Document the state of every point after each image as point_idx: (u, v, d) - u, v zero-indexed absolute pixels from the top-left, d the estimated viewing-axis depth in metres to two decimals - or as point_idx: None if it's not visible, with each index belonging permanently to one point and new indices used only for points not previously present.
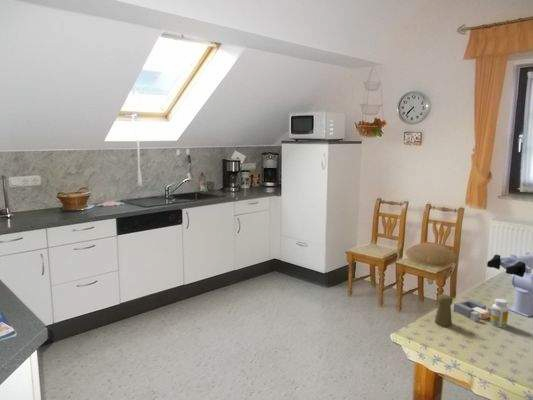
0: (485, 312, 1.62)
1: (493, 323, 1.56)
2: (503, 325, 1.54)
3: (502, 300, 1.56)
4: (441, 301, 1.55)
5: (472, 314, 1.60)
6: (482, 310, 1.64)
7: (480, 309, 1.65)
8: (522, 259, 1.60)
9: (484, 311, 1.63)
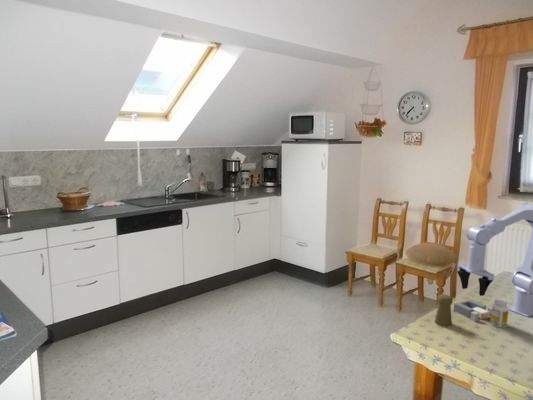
0: (485, 312, 1.62)
1: (493, 323, 1.56)
2: (503, 325, 1.54)
3: (502, 300, 1.56)
4: (441, 301, 1.55)
5: (472, 314, 1.60)
6: (482, 310, 1.64)
7: (480, 309, 1.65)
8: (475, 263, 1.57)
9: (484, 311, 1.63)
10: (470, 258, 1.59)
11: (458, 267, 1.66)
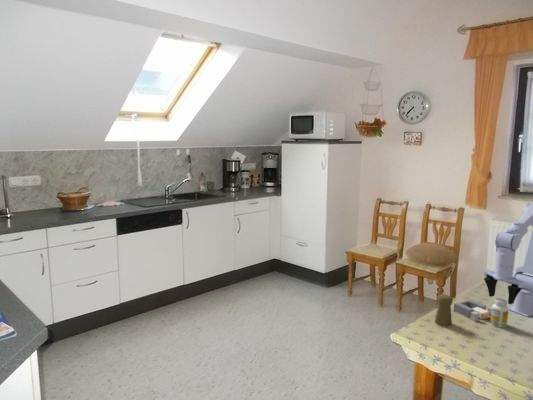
0: (485, 312, 1.62)
1: (493, 323, 1.56)
2: (503, 325, 1.54)
3: (502, 300, 1.56)
4: (441, 301, 1.55)
5: (472, 314, 1.60)
6: (482, 310, 1.64)
7: (480, 309, 1.65)
8: (504, 270, 1.51)
9: (484, 311, 1.63)
10: (498, 265, 1.52)
11: (484, 274, 1.60)
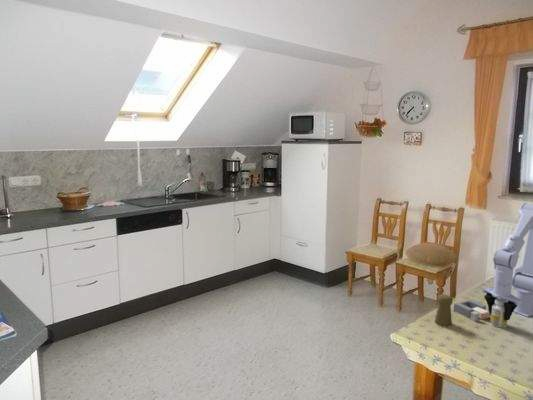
0: (485, 312, 1.62)
1: (493, 323, 1.56)
2: (503, 325, 1.54)
3: (502, 299, 1.56)
4: (441, 301, 1.55)
5: (472, 314, 1.60)
6: (482, 310, 1.64)
7: (480, 309, 1.65)
8: (502, 288, 1.52)
9: (484, 311, 1.63)
10: (497, 282, 1.54)
11: (483, 290, 1.61)
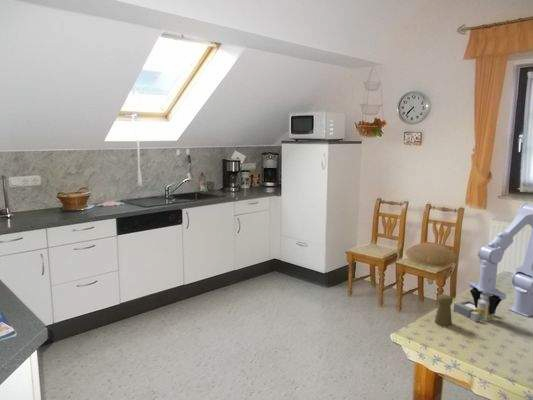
0: (476, 308, 1.65)
1: (479, 316, 1.61)
2: (488, 318, 1.60)
3: (487, 294, 1.61)
4: (441, 301, 1.55)
5: (472, 314, 1.60)
6: (474, 306, 1.67)
7: (472, 305, 1.68)
8: (487, 283, 1.58)
9: None
10: (482, 277, 1.59)
11: (469, 285, 1.66)
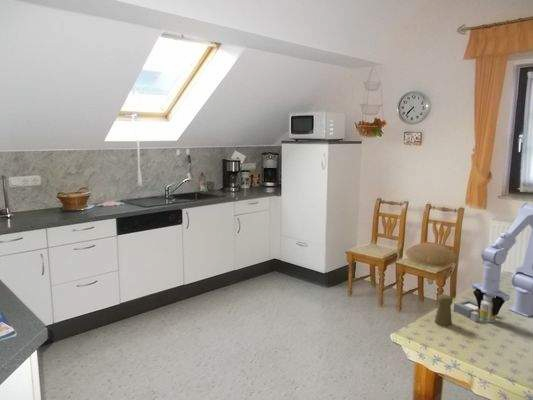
0: (476, 308, 1.65)
1: (482, 318, 1.60)
2: (491, 320, 1.58)
3: (490, 295, 1.60)
4: (441, 301, 1.55)
5: (472, 314, 1.60)
6: (473, 306, 1.67)
7: (472, 305, 1.68)
8: (490, 284, 1.56)
9: (475, 307, 1.66)
10: (485, 278, 1.58)
11: (472, 286, 1.65)
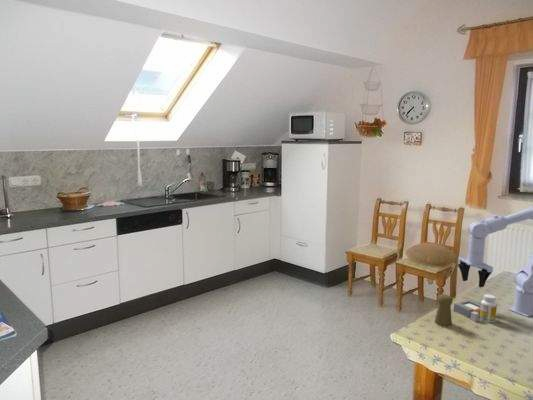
0: (476, 308, 1.65)
1: (482, 318, 1.60)
2: (491, 320, 1.58)
3: (490, 295, 1.60)
4: (441, 301, 1.55)
5: (472, 314, 1.60)
6: (473, 306, 1.67)
7: (472, 305, 1.68)
8: (475, 257, 1.66)
9: (475, 307, 1.66)
10: (470, 252, 1.67)
11: (458, 260, 1.75)
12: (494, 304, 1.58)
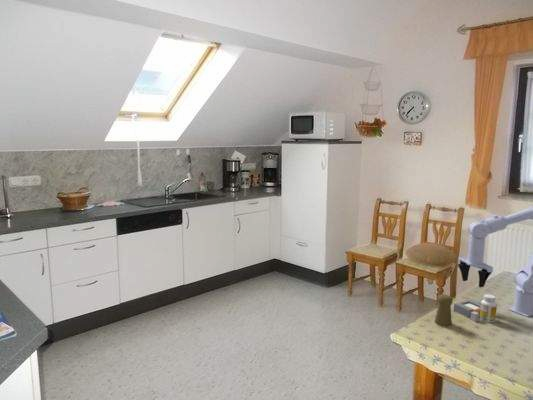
0: (476, 308, 1.65)
1: (482, 318, 1.60)
2: (491, 320, 1.58)
3: (490, 295, 1.60)
4: (441, 301, 1.55)
5: (472, 314, 1.60)
6: (473, 306, 1.67)
7: (472, 305, 1.68)
8: (475, 257, 1.66)
9: (475, 307, 1.66)
10: (470, 252, 1.67)
11: (458, 260, 1.75)
12: (494, 304, 1.58)
